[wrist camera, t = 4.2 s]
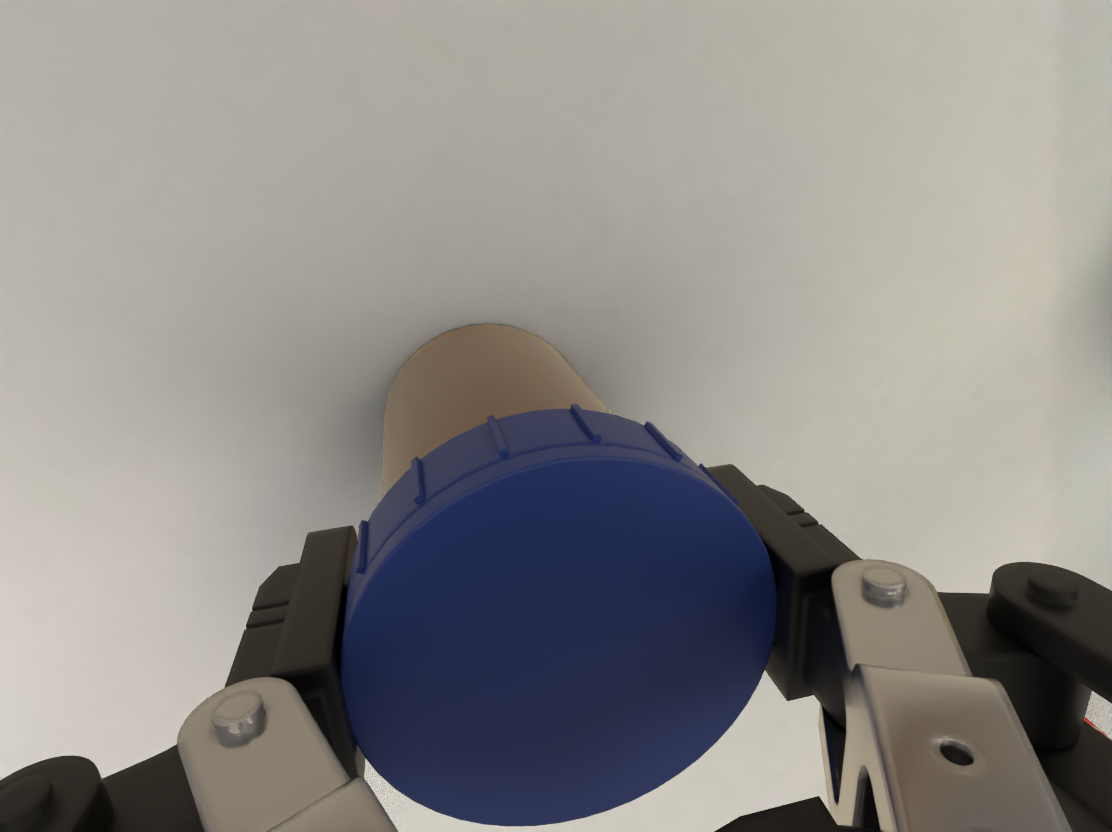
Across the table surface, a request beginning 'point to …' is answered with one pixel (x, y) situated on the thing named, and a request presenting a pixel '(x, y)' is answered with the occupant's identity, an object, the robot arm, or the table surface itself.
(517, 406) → the jar
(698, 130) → the table surface
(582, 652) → the jar lid
